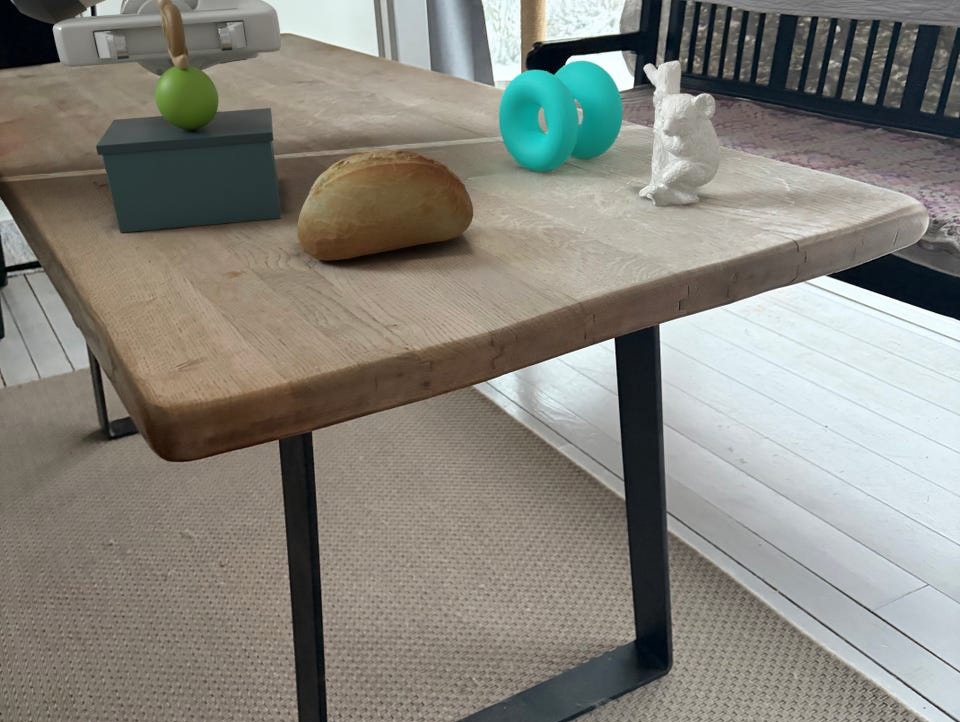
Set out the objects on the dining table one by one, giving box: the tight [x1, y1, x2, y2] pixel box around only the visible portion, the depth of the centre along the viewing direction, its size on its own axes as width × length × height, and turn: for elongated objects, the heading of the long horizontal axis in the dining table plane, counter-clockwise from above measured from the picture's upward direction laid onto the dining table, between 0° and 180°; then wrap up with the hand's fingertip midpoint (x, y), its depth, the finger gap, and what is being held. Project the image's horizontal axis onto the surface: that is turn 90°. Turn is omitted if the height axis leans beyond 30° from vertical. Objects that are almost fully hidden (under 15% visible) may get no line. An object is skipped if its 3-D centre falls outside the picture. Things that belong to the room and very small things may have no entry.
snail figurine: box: [154, 0, 219, 130], centre depth 84 cm, size 5×6×12 cm
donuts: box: [498, 60, 624, 173], centre depth 100 cm, size 10×10×10 cm
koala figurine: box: [638, 60, 722, 207], centre depth 85 cm, size 8×7×12 cm
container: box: [95, 107, 282, 234], centre depth 90 cm, size 15×12×8 cm
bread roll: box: [296, 149, 474, 261], centre depth 77 cm, size 10×15×8 cm, turn 114°
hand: (174, 44), depth 84 cm, fingers open, 8 cm apart
